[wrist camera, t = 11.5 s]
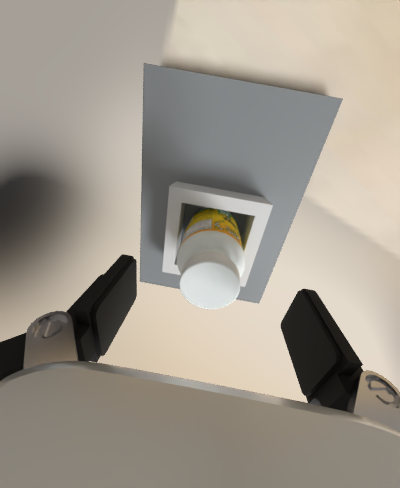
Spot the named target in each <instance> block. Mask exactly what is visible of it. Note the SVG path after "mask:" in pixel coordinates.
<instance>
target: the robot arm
mask: <svg viewBox="0 0 400 488" xmlns="http://www.w3.org/2000/svg"><path fill="white" fill-rule="evenodd" d="M136 288H137V284H136V260H135V259H134V258H133V256H128V255H121V256H120V257H119V259H118V260H117V261H116V262H115V263H114V264H113V265H112V266H111V267H110V268H109V270H108V271H107V272H106V273H105V274H104V275H100V276H99V277H98V278H97V279H96V280H95V281H94V283H93V284H92V285H91V286H90V287H89V288H88V289H87V290H86V291H85V292H84V293H83V294H82V296H81V297H80V298H79V299H78V300H77V301H76V302H75V303H74V304H73V305H72V306H71V307H70V309H69V310H68V311H67V312H63V311H55V312H50V313H47V314H45V315H43V316H41V317H39V318H37V319H36V320H35V321H34V322H33V323H31V325H30V326H29V328H28V330H27V333H24V334H21V335H19V336H16V337H14V338H11V339H8V340H5V341H2V342H0V488H400V392H399V391H398V389H397V388H396V387H395V386H394V385H393V384H392V383H391V382H390V381H388V380H387V379H386V378H384V377H383V376H381V375H379V374H378V373H375V372H373V371H367V370H366V371H363V370H362V368H361V366H362V365H363V364H362V363H361V361H360V360H359V358H358V356H357V355H356V353H355V352H354V350H353V349H352V347H351V346H350V344H349V343H348V341H347V339H346V338H345V336H344V335H343V333H342V332H341V330H340V328H339V327H338V325H337V324H336V322H335V321H334V319H333V318H332V316H331V315H330V313H329V312H328V310H327V308H326V307H325V305H324V304H323V302H322V301H321V299H320V298H319V296H318V294H317V293H316V292H315V291H313V290H308V289H302V290H301V291H298V293H297V294H296V296H295V298H294V300H293V302H292V304H291V306H290V307H289V310H288V311H287V313H286V315H285V317H284V318H283V320H282V322H281V329H282V332H283V335H284V339H285V342H286V344H287V348H288V351H289V354H290V357H291V360H292V363H293V366H294V369H295V372H296V375H297V378H298V381H299V384H300V387H301V390H302V393H303V394H304V395H305V396H306V398H307V401H308V403H305V402H300V401H294V400H290V399H284V398H280V397H275V396H270V395H265V394H260V393H255V392H250V391H245V390H240V389H235V388H230V387H225V386H220V385H214V384H210V383H204V382H199V381H194V380H189V379H183V378H179V377H173V376H168V375H163V374H158V373H152V372H147V371H142V370H137V369H131V368H125V367H119V366H113V365H108V364H102V363H93V362H97V361H98V359H99V358H100V356H103V355H105V353H106V352H107V350H108V348H109V346H110V344H111V343H112V341H113V339H114V337H115V335H116V334H117V332H118V330H119V328H120V326H121V325H122V323H123V321H124V319H125V317H126V316H127V314H128V312H129V310H130V308H131V307H132V305H133V303H134V301H135V299H136V295H137V289H136ZM89 361H92V362H89Z"/></svg>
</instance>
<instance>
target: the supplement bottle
mask: <svg viewBox="0 0 400 488" xmlns="http://www.w3.org/2000/svg"><path fill="white" fill-rule="evenodd" d="M177 266H178V270H179V272H180V274H181V276H180V281H179V286H180V290H181V293H182V295H183V296H184V298H185V299H186V300H187V301H189V302H190V303H191V304H193V305H195V306H197V307H200V308H204V309H218V308H222V307H225V306H227V305H229V304H231V303H232V302H233V301H234V300H235V299H236V298H237V296H238V294H239V292H240V277H241V276H242V274H243V272H244V268H245V255H244V250H243V246H242V242H241V238H240V234H239V230H238V226H237V223H236V220H235V219H234V217H233V216H232V215H231V214H230V213H229V212H228V211H225V210H220V209H214V208H209V207H205V208H203V209H200V210H199V211H197V212H196V213H195V214H194V215H193V216H192V218H191V219H190V221H189V224H188V226H187V229H186V232H185V234H184V237H183V240H182V243H181V245H180V248H179V251H178V255H177Z"/></svg>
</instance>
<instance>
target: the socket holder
mask: <svg viewBox="0 0 400 488" xmlns="http://www.w3.org/2000/svg"><path fill="white" fill-rule="evenodd" d="M143 87H144V88H143V137H142V194H141V248H140V249H141V251H140V253H141V254H140V282H145V283H151V284H156V285H162V286H167V287H172V288H178V289H180V286H179V281H180V276H181V274H180V272H179V270H178V266H177V255H178V251H179V248H180V245H181V243H182V240H183V237H184V234H185V232H186V229H187V226H188V224H189V221H190V219H191V218H192V216H193V215H194V214H195V213H196V212H197V211H199V210H200V209H203V208H205V207H209V208H214V209H220V210H225V211H228V212H229V213H230V214H231V215H232V216H233V217H234V219H235V220H236V223H237V226H238V230H239V234H240V238H241V242H242V246H243V250H244V255H245V268H244V272H243V274H242V276H241V277H240V292H239V294H238V296H237V298H236V299H237V300H243V301H248V302H253V303H259V302H260V300H261V298H262V295H263V292H264V290H265V288H266V285H267V283H268V280H269V278H270V275H271V273H272V270H273V268H274V266H275V263H276V261H277V258H278V256H279V254H280V251H281V249H282V246H283V244H284V241H285V239H286V236H287V234H288V232H289V229H290V227H291V224H292V222H293V219H294V217H295V214H296V212H297V209H298V207H299V205H300V202H301V200H302V197H303V195H304V192H305V190H306V188H307V185H308V183H309V180H310V178H311V175H312V173H313V170H314V168H315V166H316V163H317V161H318V158H319V156H320V153H321V151H322V148H323V146H324V144H325V141H326V139H327V136H328V134H329V131H330V129H331V127H332V124H333V122H334V119H335V117H336V114H337V112H338V109H339V107H340V105H341V102H342V100H343V99H341V98H336V97H330V96H325V95H319V94H313V93H308V92H302V91H297V90H291V89H285V88H280V87H274V86H269V85H263V84H258V83H252V82H246V81H241V80H235V79H230V78H224V77H219V76H213V75H207V74H202V73H196V72H191V71H185V70H179V69H174V68H168V67H163V66H157V65H151V64H146V63H144V82H143Z"/></svg>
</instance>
